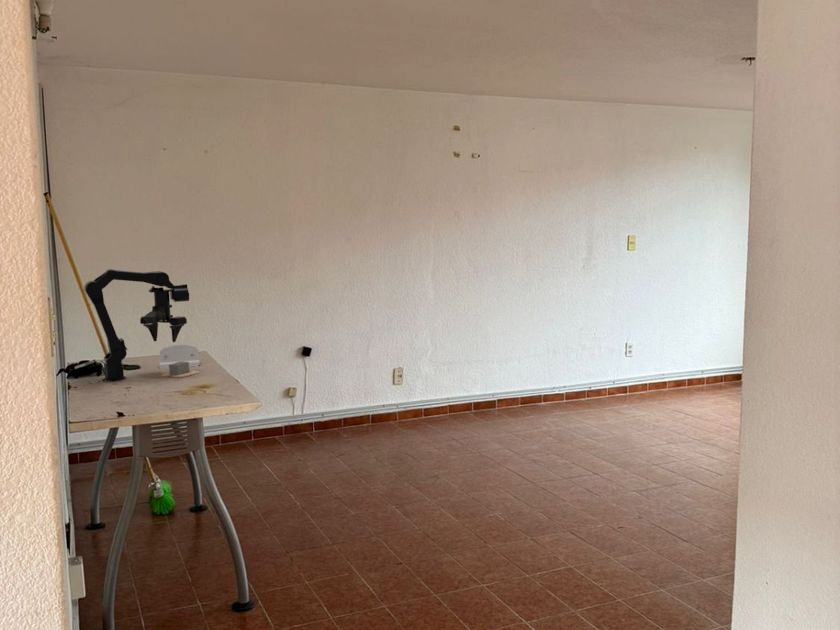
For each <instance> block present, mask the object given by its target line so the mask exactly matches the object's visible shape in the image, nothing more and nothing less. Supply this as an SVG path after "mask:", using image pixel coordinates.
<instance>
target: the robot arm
mask: <svg viewBox="0 0 840 630" xmlns="http://www.w3.org/2000/svg"><path fill="white" fill-rule="evenodd" d="M114 280H116V281H126V282H127V281H128V282H137V283H138V282H140V283H146V284H151V285H152V286H151V288H149V289H148V292H149V293H153V299H154V301H153V302H154V305H153V306H152V307H151V309H152V310H151V311H149V312H148V313H146V314H145V315H143V316H140V317H141V318H140V319H139V322H140V324H141V325H143V326H144V327H145V328H146V329H148V331H149V333H150V335H151V337H152V339H153V342H157V339H158V333H159V332H158V330H159V323H160V324H161V323H166V324H169V328H170V330H171V338H172V339H171V341H172V343H176V341H177V339H178V336H179V334H180V331H182V328H183V326H185V325H187V323H188V322H187V317H185V316H173V315H174V314H171V308H173V305H172V304H171V301H170V300H172V301H173V302H174V303H179V302H181V303H182V302H189V301H190V292H189V288H188V285H187V284H183V283H182V284H178V285H176V284H175V285H174V283H172V282H171V281H170V276H169V275H168V274H167V272H164V271H161V270H158V271H157V270H156V271H146V272H140V271H139V272H138V271H129V270H120V269H119V270H117V269H113V268H109V269H106V270H105V272H103V273H102V274H100V275H99V276H97V277H96V278H95V279H93V280H89V281H87V282H85V285H84V287H83V289H84V292H85V294H86V295H87V297H88V298H89V300H90V301H91V304H93V306H94V309H95V311H96V314H97V317H98V319H99V322H100V325H101V327H102V330H103V332H104V334H105V338H106V342H107V348H108V352H107V353H106V354H105V356H104V357H103V360H104V363H103V367H104V368H103V369H104V370H103V371H104V377H103V378H102V379H103V380H102V381H108V380H112V381H111V382H116V380H117V381H119V380H123V379H127V376H124V375H125V374H124V367H123V362H122V361H123V360H124V359H125V358H126V356H128V355H127V351H128V348H127V347H126V344H125V340H124V339H123V338H122V337H118V335H117V333H116V330H115V328H114V326H113V322H112V320H111V317H110V315H109V312H108V309H107V307H106V303H105V299H104V293H103V289H104V288H107V286H108V285H109V284H110V283H111V282H112V281H114ZM155 286H158V287H155ZM164 288H167V289H164Z"/></svg>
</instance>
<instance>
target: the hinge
mask: <svg viewBox="0 0 840 630" xmlns="http://www.w3.org/2000/svg"><path fill="white" fill-rule="evenodd" d="M198 350H199V349H198V347H196V346H193V345H189V344H187V345H186V344H174V345H171V346H167V347H164V348H162V349H160V351H159V361H158V368H159V369H160V370H162V369H164V370H165V368H167V369H169V365H170V364H174V363H177V362H180V361H181V362H189V366H195V367H199V366H198V365H200V366H201V360H200V354H199V351H198Z"/></svg>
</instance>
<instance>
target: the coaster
mask: <svg viewBox="0 0 840 630" xmlns="http://www.w3.org/2000/svg"><path fill="white" fill-rule="evenodd" d="M196 373H197V374H199V373H200V371H198V370H189V372H187V373H184V374H181V375H170V372H167V373H164V374H162V375H161V376H162V377H165V378H166V377H167V378H168V377H169V378H178V377H180V378H179V379H181V378H182V379H184V378H187V376H188V377H191V376H193V374H194V375H196ZM190 375H191V376H190Z"/></svg>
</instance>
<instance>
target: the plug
mask: <svg viewBox="0 0 840 630" xmlns="http://www.w3.org/2000/svg"><path fill="white" fill-rule="evenodd" d="M190 368H191V367H189V362H181V361H180V362H177V363H174V364H170V365H169V368H168V369H169V370H168V371H169V372H168V373H170V375H181V374H184V373H187V372H189V371H190Z"/></svg>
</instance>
